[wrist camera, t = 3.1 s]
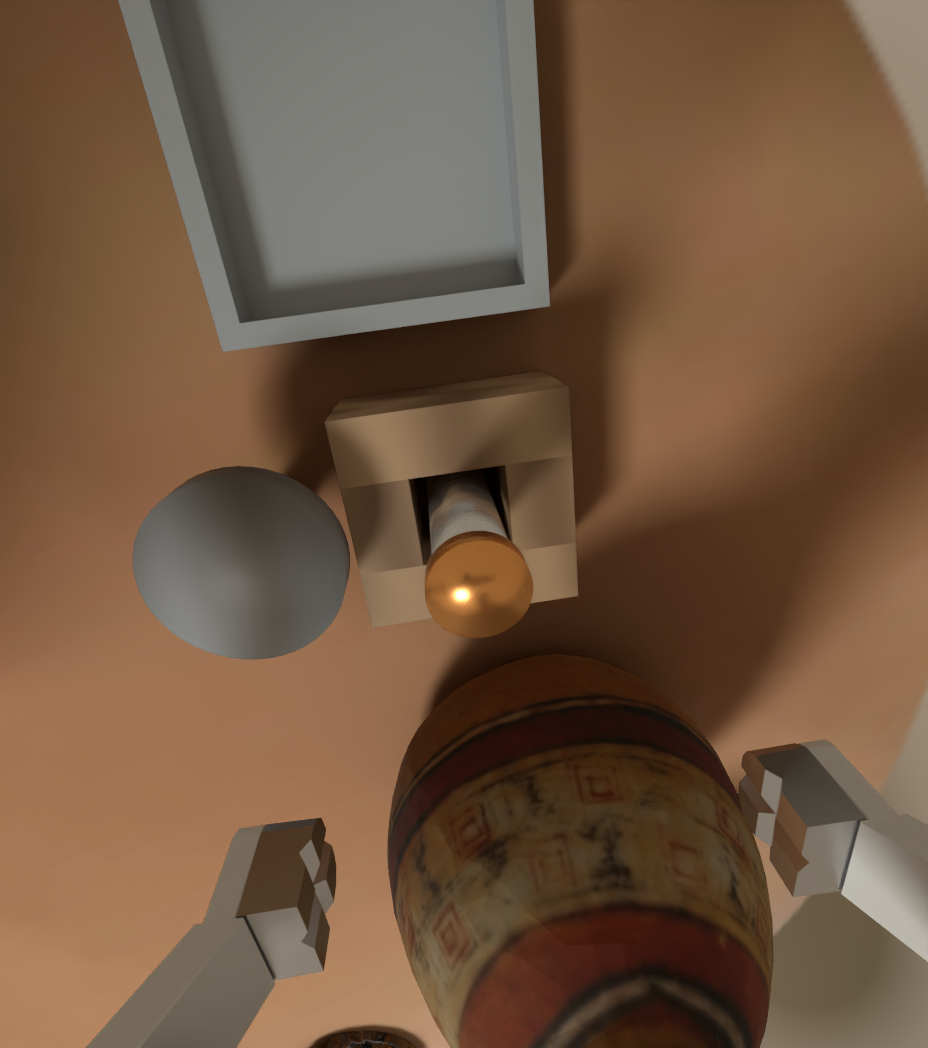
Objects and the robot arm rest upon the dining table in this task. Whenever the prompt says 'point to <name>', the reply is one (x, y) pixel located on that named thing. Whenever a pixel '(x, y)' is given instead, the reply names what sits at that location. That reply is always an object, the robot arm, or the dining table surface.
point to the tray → (350, 158)
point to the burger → (367, 1040)
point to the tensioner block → (359, 517)
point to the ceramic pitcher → (577, 868)
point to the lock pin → (472, 560)
